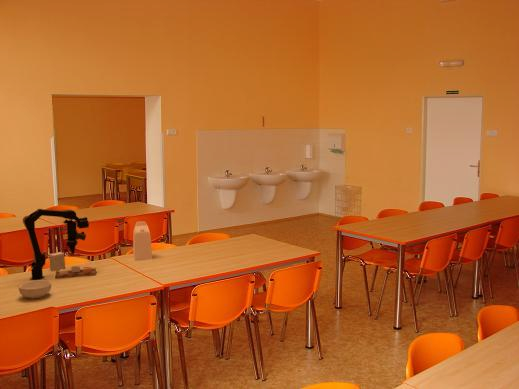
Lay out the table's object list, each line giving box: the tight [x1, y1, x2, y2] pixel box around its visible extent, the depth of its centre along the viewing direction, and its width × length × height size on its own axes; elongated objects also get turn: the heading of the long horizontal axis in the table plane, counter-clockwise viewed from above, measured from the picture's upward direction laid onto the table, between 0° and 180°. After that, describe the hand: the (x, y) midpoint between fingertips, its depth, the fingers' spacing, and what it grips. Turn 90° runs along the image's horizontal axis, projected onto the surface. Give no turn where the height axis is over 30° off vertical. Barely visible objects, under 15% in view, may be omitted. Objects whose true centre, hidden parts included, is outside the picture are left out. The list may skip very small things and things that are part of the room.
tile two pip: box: [70, 265, 81, 273], centre depth 348 cm, size 5×5×3 cm
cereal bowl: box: [18, 279, 52, 300], centre depth 306 cm, size 17×17×7 cm
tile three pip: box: [82, 266, 93, 272], centre depth 350 cm, size 5×5×3 cm
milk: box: [132, 221, 153, 261], centre depth 387 cm, size 12×12×26 cm
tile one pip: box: [58, 268, 69, 274], centre depth 346 cm, size 5×5×3 cm
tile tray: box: [54, 267, 97, 280], centre depth 348 cm, size 24×10×2 cm, turn 105°
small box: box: [48, 251, 66, 272], centre depth 363 cm, size 8×6×10 cm
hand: (73, 253), depth 352 cm, fingers closed
